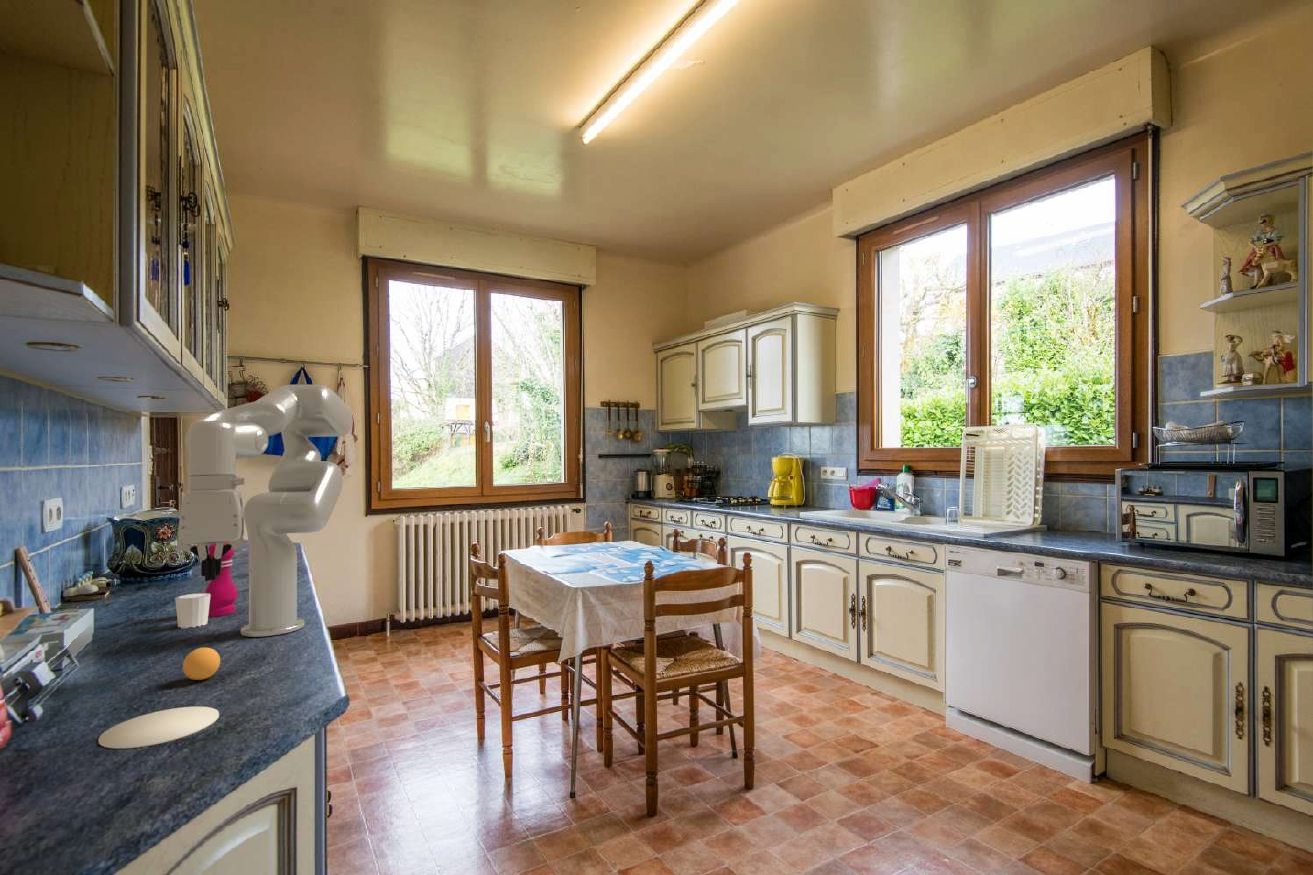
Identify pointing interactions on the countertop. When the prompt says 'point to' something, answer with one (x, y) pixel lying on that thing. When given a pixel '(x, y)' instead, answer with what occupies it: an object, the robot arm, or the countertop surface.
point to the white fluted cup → (192, 609)
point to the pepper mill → (222, 587)
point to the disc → (158, 727)
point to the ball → (201, 663)
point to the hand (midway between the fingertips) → (211, 579)
